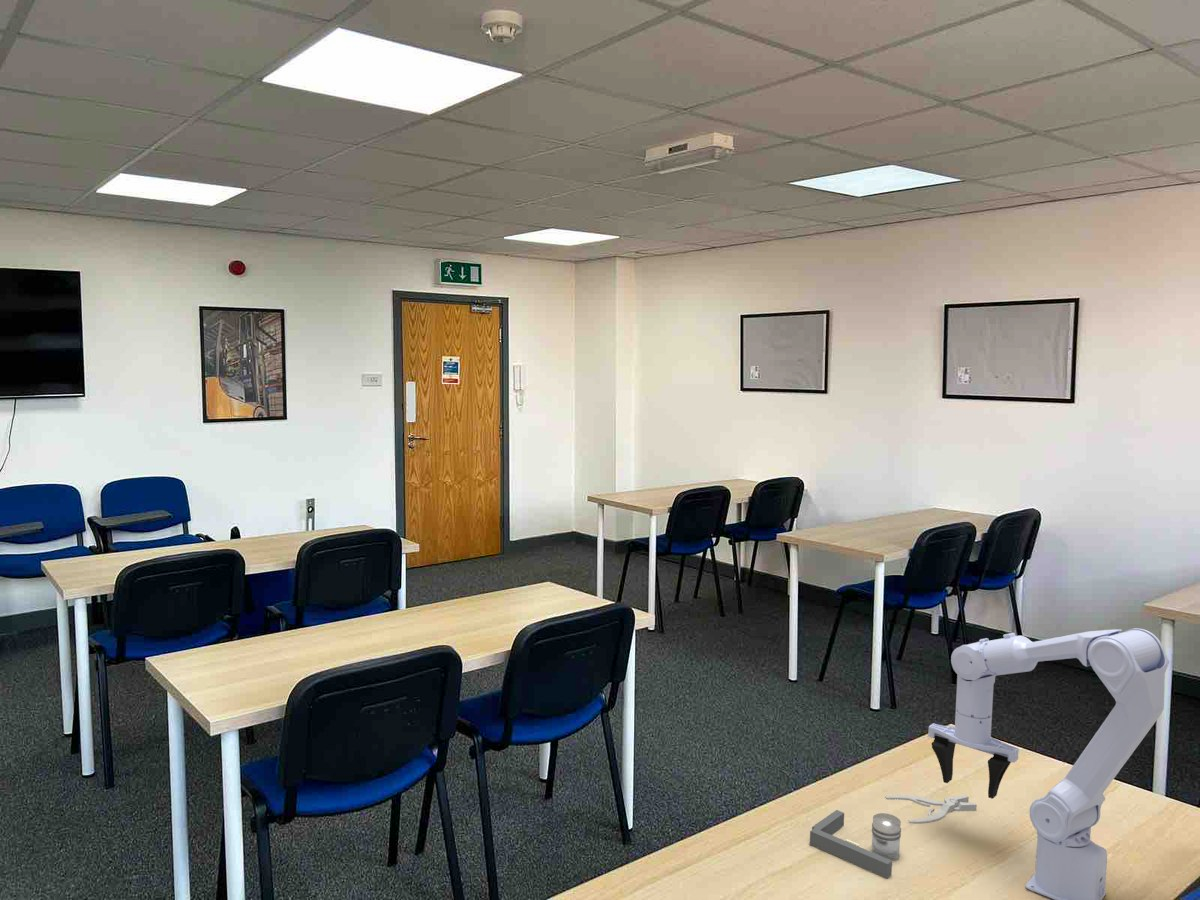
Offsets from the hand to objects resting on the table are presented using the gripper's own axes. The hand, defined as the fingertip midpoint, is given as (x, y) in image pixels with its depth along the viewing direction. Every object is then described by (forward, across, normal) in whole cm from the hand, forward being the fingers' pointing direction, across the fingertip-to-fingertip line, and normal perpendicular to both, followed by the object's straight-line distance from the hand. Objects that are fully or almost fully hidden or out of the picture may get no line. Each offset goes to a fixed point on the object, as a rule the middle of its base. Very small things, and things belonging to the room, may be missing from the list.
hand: (969, 788), depth 147 cm
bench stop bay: (+9, +12, +16) cm, 22 cm away
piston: (+9, +8, +14) cm, 19 cm away
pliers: (+10, +9, -7) cm, 15 cm away
